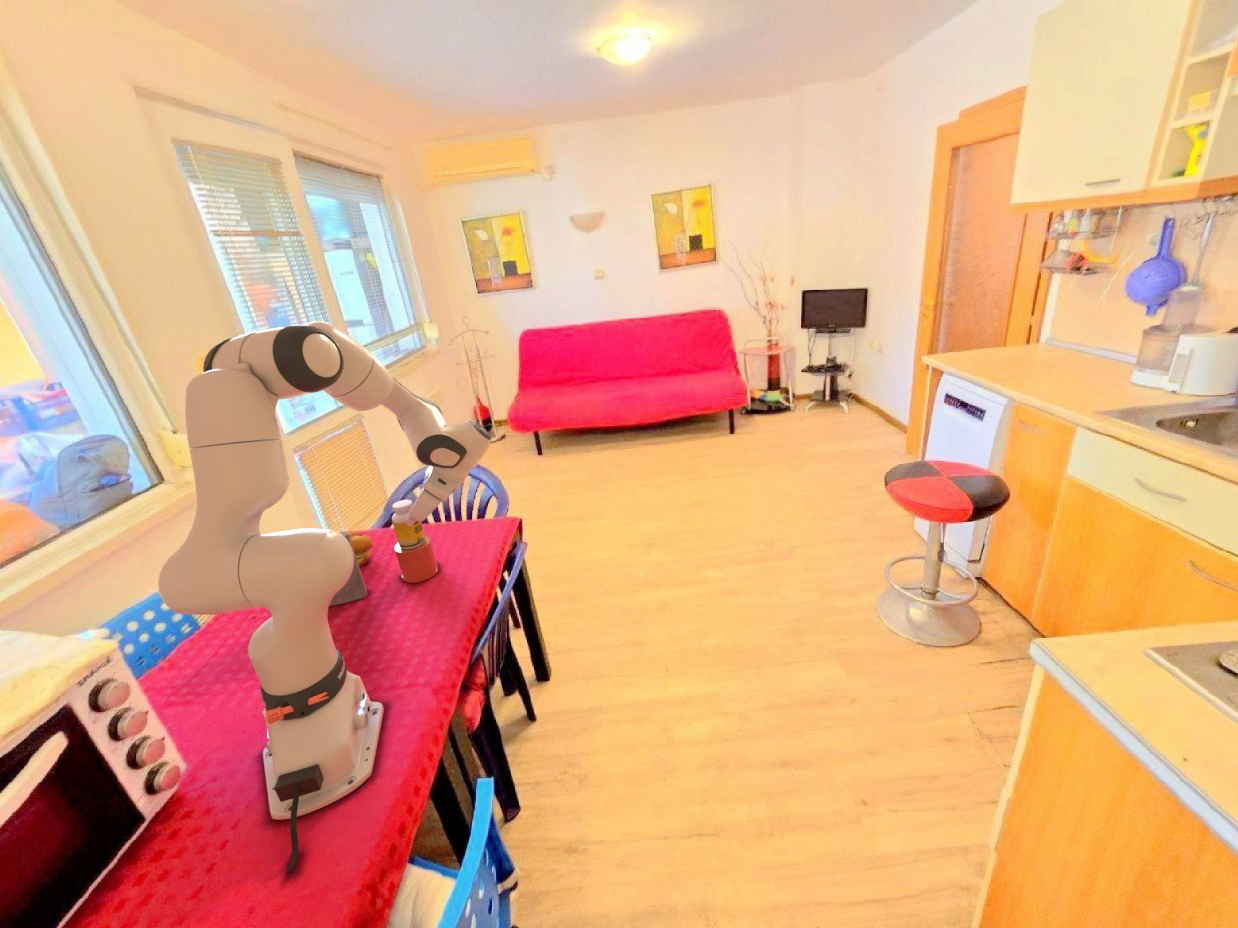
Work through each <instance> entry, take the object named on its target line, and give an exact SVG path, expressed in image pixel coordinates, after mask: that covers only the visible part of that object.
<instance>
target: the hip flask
mask: <svg viewBox="0 0 1238 928" xmlns="http://www.w3.org/2000/svg"><path fill="white" fill-rule="evenodd" d="M348 532H349V531H341V532H340V531H339V533H341V534H342V535H343V536H344V537H345V538H346V539H347V540H348V542H349V543H350V545H351V547H352V550H353V554H354V567H353V571H352V574H351V576H350V578H349V580H348V581H347V583H346V584H345V585H344V586H343V588H342V589H340V590H339V591H338V592H337V593H336V594H335V596H334V597H333V599H332V600H331V602H330V605H329V607H333V606H337V605H341V604H346V603H347V604H348V603H350V602H354V601H358V600H361V599H364V598H365V597H367V596H368V590H367V586H366V584H365V581H364V577H363V574H362V571H361V568H360V567H359V565H358V561H357V558H356V555H355V552H354V549H353V546H352V543H351V539H350V536H349V533H348Z"/></svg>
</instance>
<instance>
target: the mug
mask: <svg viewBox="0 0 1238 928" xmlns="http://www.w3.org/2000/svg"><path fill="white" fill-rule="evenodd" d="M424 536H425V541H424V542H423V543H422V544H421V545H420V546H418V547H415V548H411V549H403V548H401V547H400V546H399V543H398V542H397V543H396V544H395V545H394V552H395V556H396V559H397V564H398V566H399V570H400V574H401V579H402V580H403V581H404V583H405V582H406V583H409V584H414V583H420V582H424V581H426V580H428V579H431V578H432V577H434V576H436V574H437V573H438V571H439V565H438V563H437V559H436V555H435V551H434V546H433V543H432V539H431V537H430V536H428V535H425V534H424Z"/></svg>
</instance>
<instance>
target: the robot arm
mask: <svg viewBox="0 0 1238 928" xmlns="http://www.w3.org/2000/svg"><path fill="white" fill-rule="evenodd" d="M202 368H203V371H202V373H199V374H198V375H196V376H194V377H193V378H192V379H191V380H190V381H189V382H188V384H187V385H186V390H185V402H184V403H185V408H184V409H185V429H186V438H187V443H188V448H189V454H190V459H191V464H192V471H193V476H194V483H195V484H194V486H195V492H196V511H195V516H194V519H193V523H192V525H191V526H192V527H191V529H190V531H189V533H188V535H187V537H186V538H185V540H184V542H183V543H182V544H181V545H180V546H179V548H178V549H177V550H176V551H175V552H174V553H173V554H172V555H170V556H169V558H168V559H167V560H166V561H165V562H164V564H163V565H162V568H161V570H160V573H159V575H158V579H157V580H158V583H157V585H158V592H159V593H158V594H159V595H160V598H161V600H162V602H163V603H164V605H166V606H167V608H169V609H170V610H171V611H172V612H174V613H177V614H181V615H197V616H199V615H201V616H202V615H205V616H209V615H210V616H216V615H223V614H231V613H235V612H242V611H248V610H249V611H250V610H254V609H266V610H267V611H268V612H269V613H270V615H271V617H270V618H268V619H266V620H265V621H264V622H263V623H261V625H259V627H257V628H256V629H255V631H254V632H253V633H252V635H251V637H250V638H249V639H250V640H249V642H248V646H247V656H248V658H249V661H250V663H251V665H252V667H253V670H254V672H255V674H256V676H257V678H258V681H259V683H260V685H259V689H260V693H261V700H262V704H263V706H264V707H265V708H264V709H263V710H262V715H263V717H264V719H265V724H266V731H267V738H268V741H267V742H266V746H265V747H264V748H263V750H262V758H263V759H262V761H263V766H264V767H263V768H264V776H265V783H266V790H267V791H266V792H267V799H268V800H267V801H268V807H269V813H270V817H271V819H272V820H289V819H290V820H289V821H290V823H289V832H290V841H291V858H290V862H289V865H288V868H287V871H286V872H287V873H288V874H292V873H294V871H295V867H296V864H297V861H298V857H299V837H298V828H297V827H298V826H297V824H298V822H297V821H298V817H301V816H304V815H307V814H310V813H312V812H315V811H317V810H319V809H321V808H324V807H326V806H329V805H330V804H333V803H334V802H336V801H338V800H340V799H342V798H343V797H345V796H347V795H348V794H350V793H352V792H353V791H354V790H356V789H357V788H359V787H360V786H361V785H363V783H365V782H366V781H367V780H368V779H369V778H370V777H371V775H372V774H373V773H372V772H373V768H374V763H375V758H376V753H377V748H378V743H379V739H380V734H381V733H380V732H381V727H382V722H383V717H384V711H385V707H384V705H383V703H382V702H380V701H371V700H370V699H371V698H370V697H369V694H368V692H367V690H366V687H365V685H364V683H363V680H362V678H361V676H359V675H357V674H355V673H353V672H351V671H350V670H349V671H348V670H347V669H348V667H347V666H346V661H345V659H344V656H343V655H342V653H341V651H340V649H338V648H337V647H336V645H335V641H334V639H333V638H334V637H333V635H332V632H331V627H330V623H329V619H328V616H329V615H328V614H329V608H330V606H329V605H330V602H331V600H332V599H333V597H334V596H335V594H336V593H337V592H338V591H339V590H340V589H342V588H343V586H344V585H345V584H346V583H347V581H348V580H349V578H350V576H351V574H352V571H353V567H354V554H353V550H352V547H351V545H350V543H349V542H348V540H347V539H346V538H345V537H344V536H343V535H342V534H341V533H340V531H338V530H336V529H326V528H296V529H288V530H282V531H275V532H268V533H261V531H260V524H261V523H260V522H261V518H262V516H263V514H264V513H265V511H267V510H268V509H270V508H271V507H273V506H275V505H276V504H277V503H278V502H280V501H281V500H282V499H283V497H285V495H286V494H287V491H288V490H289V486H290V479H289V475H288V468H287V462H286V457H285V452H284V445H283V440H282V435H281V431H280V427H279V423H278V420H277V416H276V408H277V406H278V405H277V404H278V401H279V400H287V399H293V398H297V397H301V396H304V395H307V394H314V393H318V392H322V391H323V392H325V393H326V394H327V395H328V396H329V397H331V398H333V399H334V400H335V401H336V402H338V403H339V404H340V405H342V406H345V407H347V408H349V409H352V410H354V411H356V412H366V411H370V410H374V409H376V408H378V407H380V406H382V407H384V409H386V410H388V411H389V412H391V413H392V414H393V415H395V416H396V419H397V422H398V424H399V426H400V428H401V430H402V431H403V432H404V434H405V436H406V438H407V440H408V443H409V445H410V447H411V449H412V451H413V453H414V455H415V456H416V458H417V459H418V461H419V462H420V463H421V464H423V465H425V466H427V468H426V470H425V471H424V474H425V476H424V480H423V482H422V485H421V490H420V492H419V494H418V496H417V497H416V499H415V501H414V503H412V504H413V506H412V508H411V510H410V512H409V516H410V517H409V518H408V519H407V521H406V524H407V525H408V526H410V527H411V526H413V524H414V523H415V522H416V521H418V522H421V523H422V522H424V521H425V520H426V519H427V518H428V517H429V516H430V515H431V514H432V513H433V512H434V511H435V510H436V509H437V507H438V506H439V505H440V504H441V503H442V502H446V501H447V500H448V499H449V497H450V496H451V495H452V494H453V493H455V492H457V490H458V489H459V488H460V487H461V485H462V484H463V483H464V481H465V480H466V479H467V478H468V476H469V473H470V472H471V470H472V469H473V468H475V467H476V466H477V465H478V464H479V463H480V462H481V460H482V459H483V458H484V456H485V454H486V453H487V451H488V449H489V448H490V446H491V443H492V438H491V435H490V434H489V432H488V431H487V430H486V428H485V427H484V426H483V425H482V424H481V423H480V422H478V420H475V419H473V418H469V419H467V420H466V421H464V422H460V423H448V422H447V420H446V419H445V417H444V415H443V412H442V410H441V408H440V406H439V405H438V404H437V403H436V402H435V401H434V400H431V399H428V398H426V397H422V396H419V395H418V394H417V395H416V394H415V393H413V392H411V391H410V390H409V389H408V388H406V387H405V386H404V385H403V384H402V383H400V382H399V381H398V380H397V379H395V378H394V377H393V376H392V374H391V373H390V372H389V370H388V369H387V368H386V367H385V366H384V364H383V363H382V362H381V361H380V360H379V359H378V358H377V357H376V356H375V355H374V354H373V353H371V351H369V349H367V348H366V347H365V346H363V345H362V344H361V343H360V342H358V341H357V340H356V339H354V337H351V336H350V335H349V334H347V333H346V332H344V331H343V330H341V329H339V328H338V327H336V326H334V325H333V324H331V323H329V322H326V321H318V320H317V321H311V322H308V323H305V324H290V325H287V326H284V327H276V328H270V329H259V330H253V331H251V332H247V333H245V334H241V335H239V336H237V337H231V338H226V339H224V340H222V341H220V342H218V343H217V344H215V345H214V346H212V348H211V349H210V350H209V351H208V352H207V354H206V356H205V358H204V361H203V367H202Z"/></svg>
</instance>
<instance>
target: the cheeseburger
mask: <svg viewBox="0 0 1238 928" xmlns="http://www.w3.org/2000/svg"><path fill="white" fill-rule="evenodd" d="M347 532H348V533H349V536H350V539H351V543H352V546H353V549H354V552H355V555H356V558H357V561H358V565H359V568H360V567H362V566H364V565H365V563H367V562H368V560H369V559H370V556H371V549H372V548H373V546H374V543H373V540H372V539H371V537H370V536H368V535H367V534H359V533H356V532H352V531H347Z"/></svg>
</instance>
